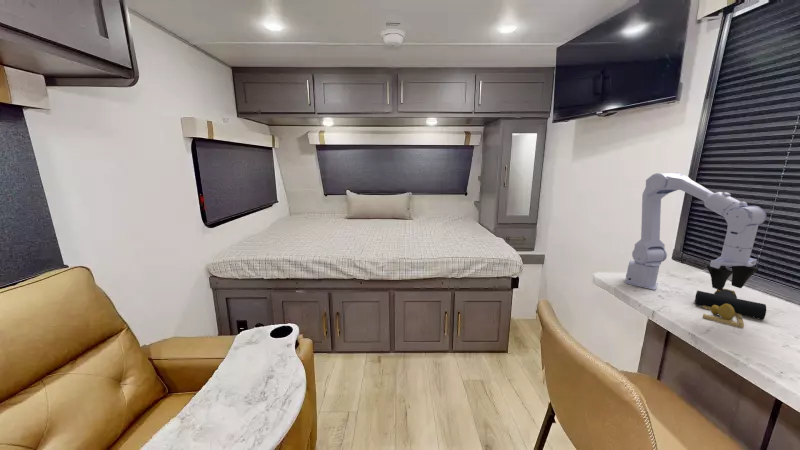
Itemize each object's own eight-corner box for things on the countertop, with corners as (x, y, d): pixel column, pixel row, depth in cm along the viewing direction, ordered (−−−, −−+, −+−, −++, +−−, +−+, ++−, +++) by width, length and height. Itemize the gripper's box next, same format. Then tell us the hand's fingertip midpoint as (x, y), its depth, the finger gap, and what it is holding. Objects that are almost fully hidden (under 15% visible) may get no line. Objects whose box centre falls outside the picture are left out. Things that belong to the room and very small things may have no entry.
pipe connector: (696, 281, 108) (759, 293, 98) (693, 295, 109) (754, 308, 99) (698, 293, 99) (767, 307, 89) (695, 307, 100) (763, 323, 91)
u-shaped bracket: (702, 317, 93) (703, 314, 93) (702, 307, 99) (703, 304, 99) (743, 328, 87) (744, 325, 87) (740, 316, 94) (741, 313, 93)
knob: (736, 320, 91) (740, 305, 90) (723, 322, 91) (727, 307, 89) (718, 312, 96) (722, 298, 95) (705, 314, 95) (709, 300, 94)
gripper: (735, 251, 83) (723, 295, 86) (774, 248, 86) (762, 291, 89) (706, 244, 90) (696, 285, 93) (743, 242, 93) (733, 282, 96)
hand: (726, 287), depth 91 cm, fingers open, 7 cm apart
